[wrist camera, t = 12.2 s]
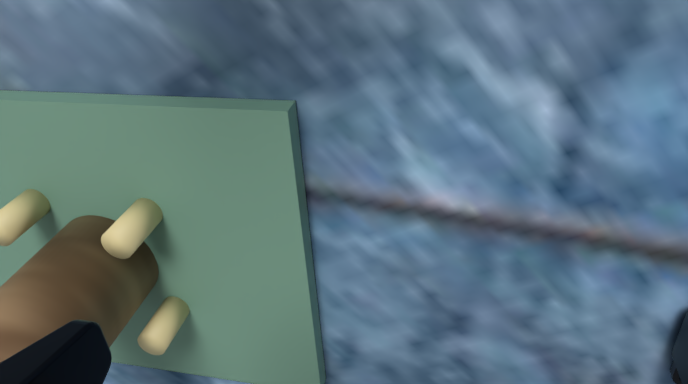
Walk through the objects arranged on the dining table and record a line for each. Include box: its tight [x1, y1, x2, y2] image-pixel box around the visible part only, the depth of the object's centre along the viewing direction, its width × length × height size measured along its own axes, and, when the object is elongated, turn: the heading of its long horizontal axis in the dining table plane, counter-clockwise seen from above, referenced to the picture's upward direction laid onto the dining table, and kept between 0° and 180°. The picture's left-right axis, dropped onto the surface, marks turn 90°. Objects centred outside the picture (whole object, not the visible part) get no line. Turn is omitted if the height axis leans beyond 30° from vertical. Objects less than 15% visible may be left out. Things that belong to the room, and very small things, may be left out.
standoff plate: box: [0, 90, 326, 384], centre depth 26 cm, size 20×16×4 cm
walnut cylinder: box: [0, 215, 159, 363], centre depth 21 cm, size 5×5×13 cm
